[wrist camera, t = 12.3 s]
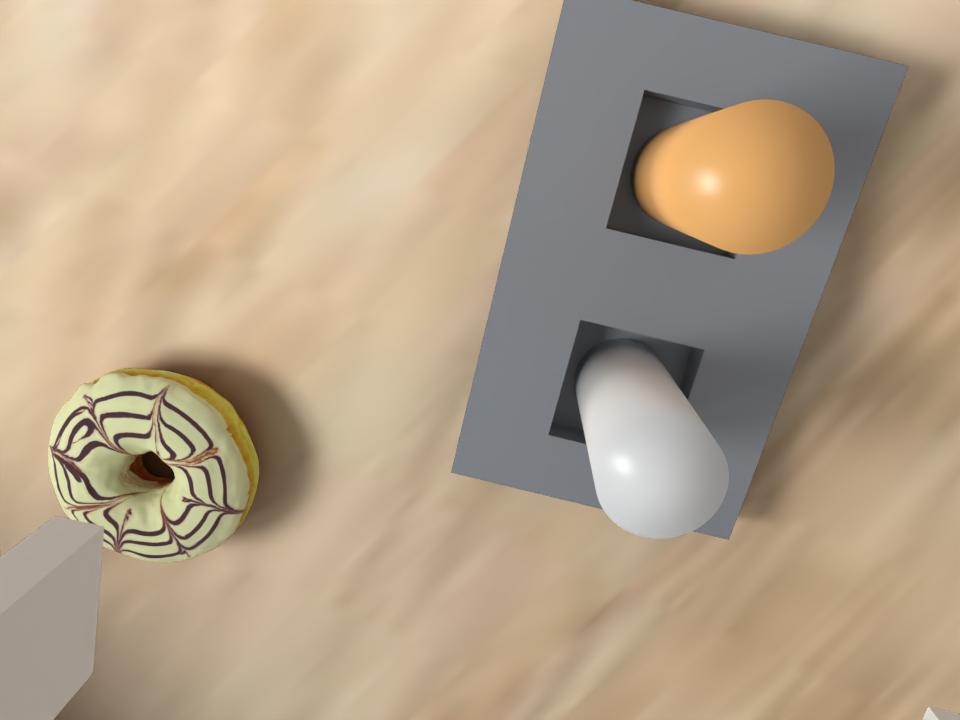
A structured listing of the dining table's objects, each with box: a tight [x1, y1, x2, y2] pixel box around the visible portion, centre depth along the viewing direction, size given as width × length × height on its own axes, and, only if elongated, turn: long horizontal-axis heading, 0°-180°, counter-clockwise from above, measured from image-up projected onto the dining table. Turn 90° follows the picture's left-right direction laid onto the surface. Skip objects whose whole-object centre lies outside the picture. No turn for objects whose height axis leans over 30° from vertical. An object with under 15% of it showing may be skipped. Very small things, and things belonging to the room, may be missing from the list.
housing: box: [451, 0, 908, 540], centre depth 31 cm, size 22×14×2 cm, turn 167°
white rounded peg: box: [574, 338, 729, 539], centre depth 28 cm, size 4×4×11 cm
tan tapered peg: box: [631, 99, 835, 255], centre depth 25 cm, size 4×4×11 cm
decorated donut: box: [48, 368, 259, 562], centre depth 35 cm, size 10×11×4 cm
